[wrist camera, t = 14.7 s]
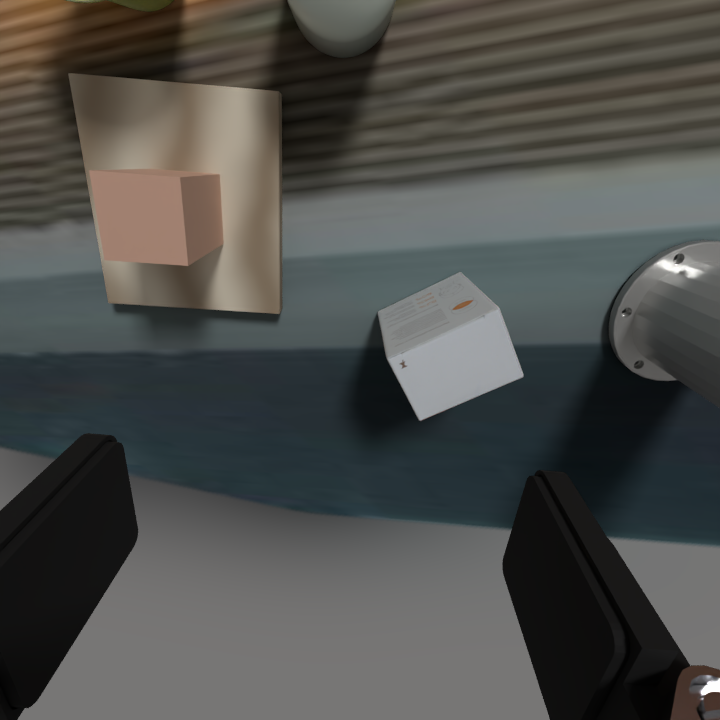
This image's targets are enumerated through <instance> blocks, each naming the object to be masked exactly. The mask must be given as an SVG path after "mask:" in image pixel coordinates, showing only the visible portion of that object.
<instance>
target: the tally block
mask: <svg viewBox="0 0 720 720" xmlns="http://www.w3.org/2000/svg"><path fill="white" fill-rule="evenodd" d="M89 173H90V179H91V185H92V191H93V197H94V202H95V208H96V214H97V220H98V225H99V231H100V237H101V243H102V249H103V254H104V260H109V261H123V262H138V263H153V264H168V265H182V266H189V265H190V264H192V263H194V262H195V261H197V260H198V259H200V258H202V257H203V256H205V255H206V254H208V253H210V252H211V251H213V250H214V249H216V248H218V247H219V246H221V245H222V244H224V240H223V222H222V205H221V187H220V174H213V173H200V172H187V171H174V170H161V169H120V170H89Z"/></svg>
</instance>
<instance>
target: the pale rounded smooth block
mask: <svg viewBox="0 0 720 720" xmlns="http://www.w3.org/2000/svg"><path fill="white" fill-rule="evenodd" d="M287 1H288V4H289V6H290V9H291V11H292V14H293V16H294V19H295V21H296V23H297V25H298V27H299V29H300V31H301V32H302V34H303V36H304V37H305V38H306V39H307V40H308V42H309V43H310V44H311V45H313V46H314V47H315V48H316V49H318V50H319V51H321V52H323V53H325V54H327V55H330V56H333V57H338V58H348V57H354V56H357V55H360V54H362V53H364V52H366V51H367V50H369V49H370V48H371V47H373V46H374V45H375V44H376V43H377V42H378V40H379V39H380V38H381V37H382V35H383V34H384V32H385V31H386V29H387V27H388V25H389V22H390V19H391V17H392V13H393V9H394V5H395V2H396V0H287Z"/></svg>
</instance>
